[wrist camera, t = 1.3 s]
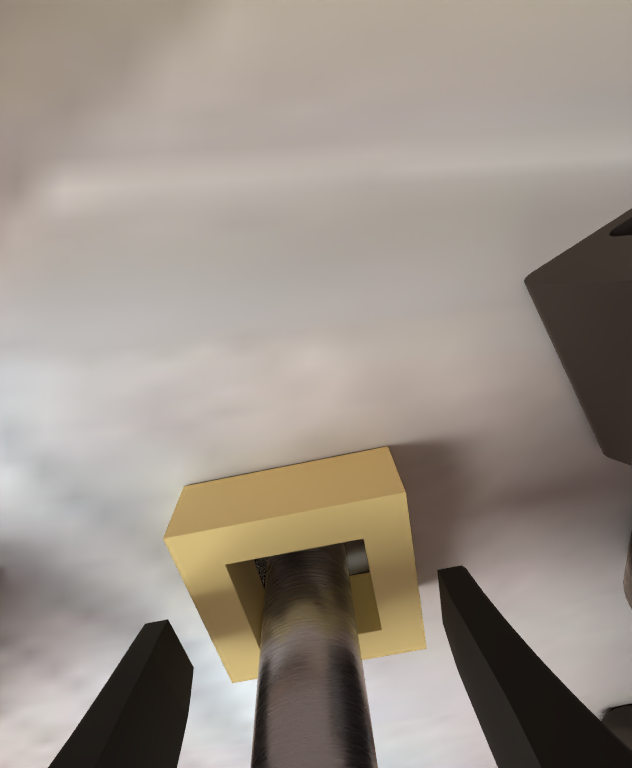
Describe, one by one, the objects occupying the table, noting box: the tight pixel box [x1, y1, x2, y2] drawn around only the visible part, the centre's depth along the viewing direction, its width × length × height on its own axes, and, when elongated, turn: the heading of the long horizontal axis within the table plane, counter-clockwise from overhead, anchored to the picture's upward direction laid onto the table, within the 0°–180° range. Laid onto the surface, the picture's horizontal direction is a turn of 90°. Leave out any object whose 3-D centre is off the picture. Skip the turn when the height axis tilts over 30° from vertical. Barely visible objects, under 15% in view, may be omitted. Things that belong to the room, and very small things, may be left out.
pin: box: [251, 542, 378, 768], centre depth 9 cm, size 3×3×8 cm
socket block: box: [163, 446, 427, 683], centre depth 12 cm, size 6×6×2 cm
